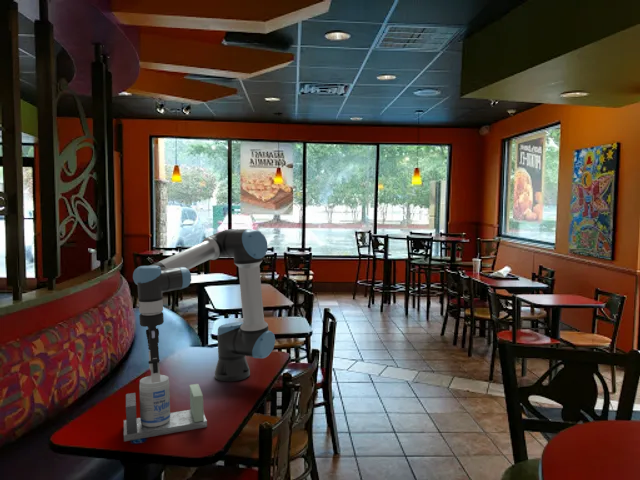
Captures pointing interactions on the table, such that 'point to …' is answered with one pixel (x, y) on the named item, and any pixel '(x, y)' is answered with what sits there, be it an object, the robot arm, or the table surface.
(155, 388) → the supplement tub
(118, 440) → the table surface
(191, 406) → the block
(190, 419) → the vise
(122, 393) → the table surface
